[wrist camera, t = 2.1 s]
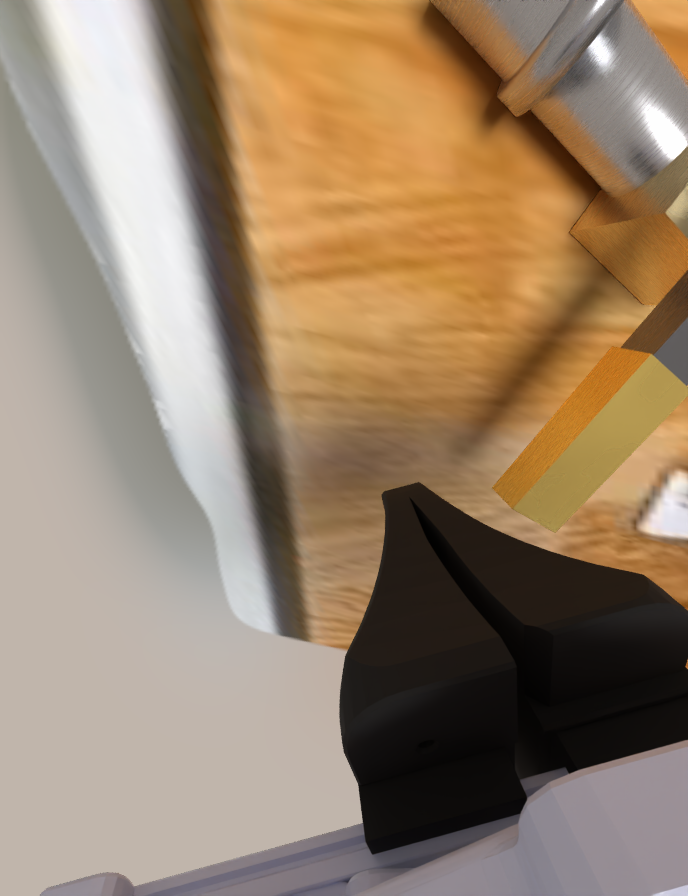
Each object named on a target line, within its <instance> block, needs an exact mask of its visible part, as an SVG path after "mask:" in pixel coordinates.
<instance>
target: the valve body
mask: <svg viewBox="0 0 688 896" xmlns="http://www.w3.org/2000/svg"><path fill="white" fill-rule="evenodd" d="M430 1H431V2H432V3H433V5H434V6H435V7H436V8H437V9H438V10H439V11H440V12H441V13H442V14H443V15H444V17H445V18H446V19H447V20H448V21H449V22H450V23H451V24H452V25H453V26H454V27H455V29H456V30H457V31H458V32H459V33H460V34H461V35H462V36H463V37H464V38H465V39H466V41H467V42H468V43H469V44H470V45H471V46H472V47H473V48H474V49H475V50H476V51H477V53H478V54H479V55H480V56H481V57H482V58H483V59H484V60H485V61H486V62H487V63H488V65H489V66H490V67H491V68H492V69H493V70H494V71H495V72H496V73H497V74H498V75H499V77H500V78H501V79H502V81H501V83H500V86H499V88H498V91H497V97H498V98H499V99H500V101H501V102H502V103H503V104H504V105H505V106H506V107H507V108H508V109H509V110H510V111H511V112H512V113H513V114H514V115H515V116H516V117H517V116H521V115H522V114H524V113H526V112H527V111H528V110H531V111H532V113H533V114H534V115H535V116H536V117H537V118H538V119H539V120H540V121H541V122H542V123H543V125H544V126H545V127H546V128H547V129H548V130H549V131H550V132H551V133H552V134H553V135H554V137H555V138H556V139H557V140H558V141H559V142H560V143H561V144H562V145H563V146H564V147H565V149H566V150H567V151H568V152H569V153H570V154H571V155H572V156H573V157H574V158H575V159H576V161H577V162H578V163H579V164H580V165H581V166H582V167H583V168H584V169H585V170H586V171H587V173H588V174H589V175H590V176H591V177H592V178H593V179H594V180H595V181H596V182H597V183H598V185H599V186H600V187H601V190H600V191H599V192H598V194H597V195H596V197H595V198H594V199H593V201H592V202H591V203H590V205H589V206H588V208H587V209H586V210H585V212H584V213H583V214H582V216H581V217H580V218H579V220H578V221H577V223H576V224H575V225H574V227H573V228H572V229H571V231H570V233H571V234H572V235H573V236H574V237H575V238H576V239H577V240H578V241H579V242H580V243H581V244H582V245H583V246H584V247H585V248H586V249H587V250H588V251H589V252H590V253H591V254H592V255H593V256H594V257H595V258H596V259H597V260H598V261H599V262H600V263H601V264H602V265H603V266H604V267H605V268H606V269H607V270H608V271H609V272H610V273H611V274H612V275H613V276H614V277H616V278H617V279H618V280H619V281H620V282H621V283H622V284H623V285H624V286H625V287H626V288H627V289H628V290H629V291H630V292H631V293H632V294H633V295H634V296H635V297H636V298H637V299H638V300H639V301H640V302H641V303H642V304H643V305H658V304H659V303H660V301H661V300H662V299H663V298H664V297H665V296H666V294H667V293H668V292H669V291H670V290H671V289H672V287H673V286H674V285H675V284H676V283H677V282H678V280H679V279H680V278H681V277H682V276H683V275H684V273H685V272H686V271H687V270H688V80H687V79H686V78H685V76H684V75H683V73H682V72H681V70H680V69H679V68H678V66H677V65H676V63H675V62H674V61H673V59H672V58H671V56H670V55H669V53H668V52H667V51H666V49H665V48H664V46H663V45H662V43H661V42H660V41H659V39H658V38H657V36H656V35H655V34H654V32H653V31H652V29H651V28H650V26H649V25H648V24H647V22H646V21H645V19H644V18H643V17H642V15H641V14H640V12H639V11H638V9H637V8H636V7H635V5H634V4H633V2H632V1H631V0H430Z"/></svg>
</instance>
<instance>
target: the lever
mask: <svg viewBox="0 0 688 896" xmlns="http://www.w3.org/2000/svg"><path fill="white" fill-rule="evenodd" d="M687 385H688V270H687V271H686V272H685V273H684V275H683V276H682V277H681V278H680V279H679V280H678V282H677V283H676V284H675V285H674V286H673V287H672V289H671V290H670V291H669V292H668V293H667V294H666V296H665V297H664V298H663V299H662V300H661V301H660V303H659V304H658V305H657V306H656V307H655V308H654V310H653V311H652V312H651V313H650V314H649V315H648V316H647V318H646V319H645V320H644V321H643V322H642V323H641V325H640V326H639V327H638V328H637V329H636V330H635V332H634V333H633V334H632V335H631V336H630V337H629V339H628V340H627V341H626V342H625V343H624V344H623V346H622V347H621V348H618V347H613V346H612V347H611V349H610V350H609V351H608V352H607V353H606V354H605V356H604V357H603V358H602V359H601V360H600V361H599V363H598V364H597V365H596V366H595V367H594V369H593V370H592V371H591V372H590V373H589V374H588V376H587V377H586V378H585V379H584V380H583V381H582V383H581V384H580V385H579V386H578V387H577V389H576V390H575V391H574V392H573V393H572V394H571V396H570V397H569V398H568V399H567V400H566V401H565V403H564V404H563V405H562V406H561V407H560V408H559V410H558V411H557V412H556V413H555V414H554V416H553V417H552V418H551V419H550V420H549V421H548V423H547V424H546V425H545V426H544V427H543V428H542V430H541V431H540V432H539V433H538V434H537V436H536V437H535V438H534V439H533V440H532V441H531V443H530V444H529V445H528V446H527V447H526V448H525V450H524V451H523V452H522V453H521V454H520V456H519V457H518V458H517V459H516V460H515V461H514V463H513V464H512V465H511V466H510V467H509V468H508V470H507V471H506V472H505V473H504V474H503V475H502V477H501V478H500V479H499V480H498V481H497V483H496V484H495V485H494V486H493V487H492V488H493V489H494V490H495V492H496V493H497V494H498V495H499V496H500V497H501V498H502V499H503V500H504V501H505V502H506V503H507V504H508V505H509V506H510V507H511V508H512V509H513V510H515V511H517V512H519V513H520V514H522V515H524V516H526V517H528V518H529V519H531V520H533V521H535V522H536V523H538V524H540V525H542V526H544V527H545V528H547V529H549V530H551V531H553V532H554V533H556V532H557V530H558V529H559V528H560V527H561V526H562V525H563V524H564V523H565V522H566V521H567V520H568V519H569V518H570V517H571V516H572V515H573V514H574V513H575V512H576V511H577V510H578V509H579V508H580V507H581V506H582V505H583V504H584V503H585V502H586V501H587V499H588V498H589V497H590V496H591V495H592V494H593V493H594V492H595V491H596V490H597V489H598V488H599V487H600V486H601V485H602V484H603V483H604V482H605V481H606V480H607V479H608V478H609V477H610V476H611V475H612V474H613V473H614V472H615V471H616V470H617V468H618V467H619V466H620V465H621V464H622V463H623V462H624V461H625V460H626V459H627V458H628V457H629V456H630V455H631V454H632V453H633V452H634V451H635V450H636V449H637V448H638V447H639V446H640V445H641V444H642V443H643V442H644V441H645V440H646V439H647V437H648V436H649V435H650V434H651V433H652V432H653V431H654V430H655V429H656V428H657V427H658V426H659V425H660V424H661V423H662V422H663V421H664V420H665V419H666V418H667V417H668V416H669V415H670V414H671V413H672V412H673V411H674V410H675V409H676V408H677V406H678V405H679V404H680V403H681V402H682V401H683V400H684V399H685V398H686V397H687V396H688V387H687Z"/></svg>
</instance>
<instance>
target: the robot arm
mask: <svg viewBox="0 0 688 896" xmlns="http://www.w3.org/2000/svg"><path fill="white" fill-rule="evenodd" d="M382 500H383V505H384V509H385V537H384V545H383V553H382V559H381V564H380V568H379V572H378V576H377V580H376V583H375V587H374V590H373V593H372V596H371V599H370V602H369V605H368V607H367V610H366V612H365V615H364V617H363V620H362V623H361V625H360V627H359V629H358V631H357V633H356V635H355V637H354V639H353V641H352V643H351V645H350V647H349V649H348V651H347V654H346V656H345V662H344V668H343V674H342V682H341V690H340V727H341V736H342V744H343V749H344V753H345V756H346V758H347V760H348V762H349V764H350V767H351V769H352V771H353V773H354V776H355V778H356V780H357V782H358V786H359V794H360V802H361V811H362V818H363V823H362V824H358V825H354V826H351V827H347V828H344V829H340V830H337V831H333V832H329V833H326V834H322V835H318V836H315V837H311V838H308V839H304V840H300V841H297V842H294V843H289V844H286V845H282V846H279V847H275V848H271V849H268V850H264V851H261V852H257V853H254V854H250V855H246V856H243V857H239V858H236V859H232V860H228V861H225V862H221V863H218V864H214V865H210V866H207V867H203V868H199V869H196V870H192V871H188V872H185V873H181V874H178V875H174V876H170V877H167V878H164V879H160V880H156V881H152V882H149V883H145V884H142V885H138V886H133V884H132V882H131V881H130V880H129V879H128V878H127V877H125V876H124V875H121V874H119V873H109V872H107V873H100V874H96V875H92V876H88V877H85V878H81V879H77V880H74V881H70V882H67V883H63V884H59V885H56V886H52V887H49V888H47V889H46V890H44V891H43V892H42V893H41V894H40V896H688V669H687V668H686V667H685V666H686V663H687V660H688V611H687V610H686V609H685V608H684V607H683V606H682V605H680V604H679V603H678V602H677V601H676V600H675V599H673V598H672V597H671V596H670V595H669V594H668V593H666V592H665V591H664V590H663V589H662V588H660V587H659V586H658V585H656V584H655V583H654V582H652V581H651V580H650V579H648V578H647V577H646V576H644V575H642V574H638V573H633V572H629V571H624V570H619V569H615V568H610V567H605V566H601V565H596V564H592V563H588V562H585V561H581V560H578V559H574V558H570V557H567V556H564V555H560V554H557V553H554V552H551V551H548V550H545V549H542V548H539V547H537V546H534V545H531V544H528V543H525V542H523V541H520V540H518V539H515V538H513V537H511V536H509V535H506V534H504V533H502V532H500V531H497V530H495V529H493V528H491V527H489V526H487V525H485V524H483V523H481V522H479V521H478V520H476V519H474V518H472V517H470V516H469V515H467V514H465V513H464V512H462V511H461V510H459V509H457V508H456V507H454V506H453V505H451V504H450V503H448V502H447V501H445V500H444V499H442V498H441V497H439V496H438V495H436V494H435V493H434V492H432V491H431V490H429V489H428V488H427V487H425V486H424V485H422V484H421V483H419V482H418V483H414V484H411V485H407V486H403V487H399V488H395V489H392V490H388V491H384V492H383V494H382Z"/></svg>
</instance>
